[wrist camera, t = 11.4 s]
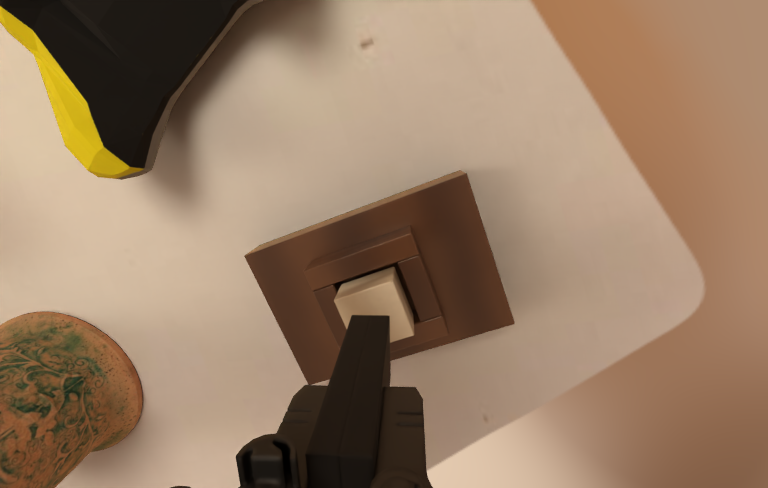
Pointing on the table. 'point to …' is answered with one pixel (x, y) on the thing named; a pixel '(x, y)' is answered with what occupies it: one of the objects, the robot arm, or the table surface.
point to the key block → (379, 252)
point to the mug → (60, 397)
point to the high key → (377, 301)
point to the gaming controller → (118, 68)
